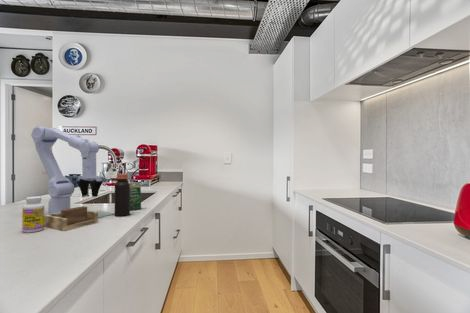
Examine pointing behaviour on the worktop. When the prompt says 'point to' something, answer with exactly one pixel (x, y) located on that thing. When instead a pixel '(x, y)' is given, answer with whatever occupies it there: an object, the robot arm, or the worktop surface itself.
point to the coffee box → (135, 197)
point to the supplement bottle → (33, 215)
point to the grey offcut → (56, 214)
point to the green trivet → (103, 213)
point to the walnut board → (75, 215)
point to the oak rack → (62, 222)
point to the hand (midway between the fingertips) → (89, 196)
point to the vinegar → (122, 196)
